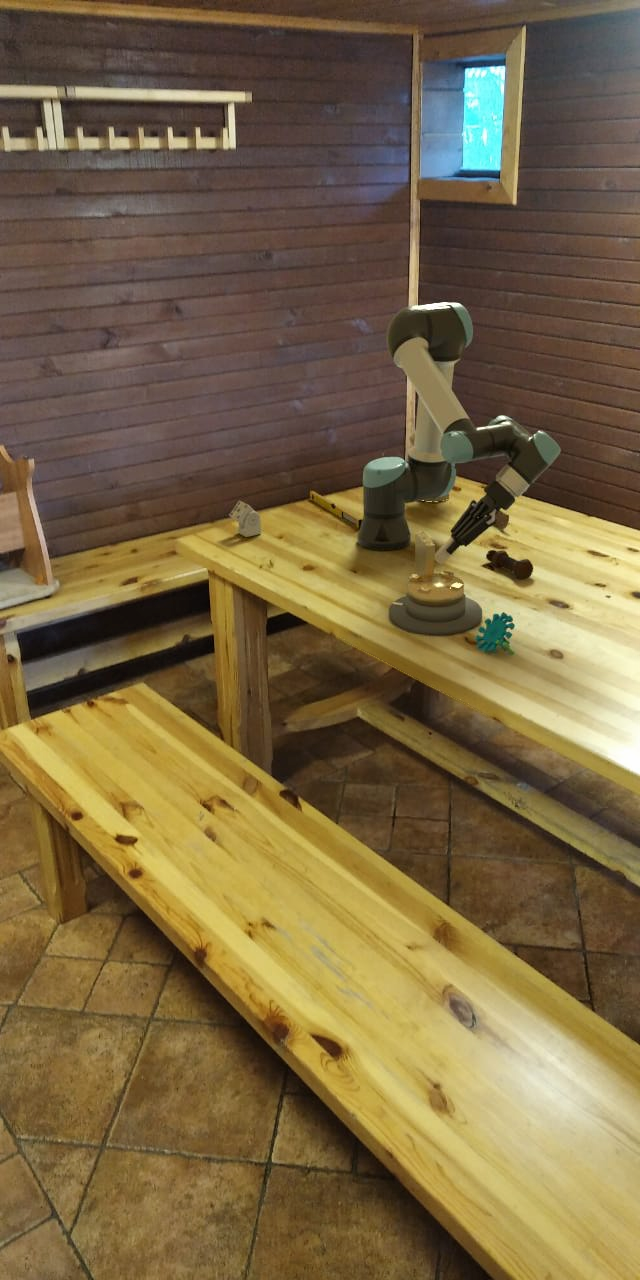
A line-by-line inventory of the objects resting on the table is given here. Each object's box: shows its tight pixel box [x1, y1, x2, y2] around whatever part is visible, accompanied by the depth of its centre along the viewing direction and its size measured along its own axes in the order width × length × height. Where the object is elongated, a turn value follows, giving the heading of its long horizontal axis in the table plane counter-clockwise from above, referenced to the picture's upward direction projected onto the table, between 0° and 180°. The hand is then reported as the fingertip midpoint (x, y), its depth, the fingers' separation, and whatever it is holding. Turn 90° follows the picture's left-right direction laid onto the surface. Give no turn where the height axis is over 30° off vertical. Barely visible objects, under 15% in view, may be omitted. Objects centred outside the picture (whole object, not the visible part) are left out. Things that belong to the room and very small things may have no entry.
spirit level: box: [309, 490, 363, 529], centre depth 303 cm, size 33×1×3 cm, turn 26°
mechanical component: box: [228, 500, 262, 538], centre depth 286 cm, size 5×8×10 cm
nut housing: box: [388, 592, 483, 637], centre depth 232 cm, size 22×22×5 cm
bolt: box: [485, 549, 534, 581], centre depth 257 cm, size 6×5×15 cm
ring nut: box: [407, 530, 465, 607], centre depth 232 cm, size 22×13×11 cm, turn 10°
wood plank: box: [493, 509, 510, 533], centre depth 289 cm, size 15×2×5 cm, turn 22°
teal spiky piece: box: [475, 612, 516, 655], centre depth 216 cm, size 11×6×10 cm
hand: (437, 560), depth 238 cm, fingers closed
